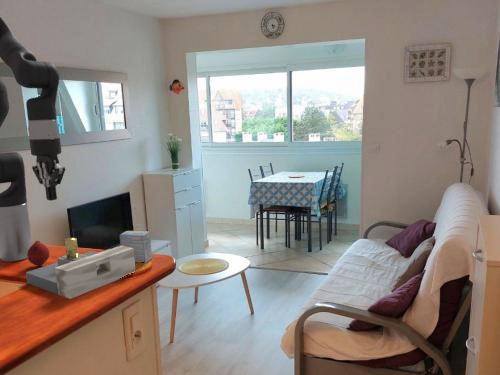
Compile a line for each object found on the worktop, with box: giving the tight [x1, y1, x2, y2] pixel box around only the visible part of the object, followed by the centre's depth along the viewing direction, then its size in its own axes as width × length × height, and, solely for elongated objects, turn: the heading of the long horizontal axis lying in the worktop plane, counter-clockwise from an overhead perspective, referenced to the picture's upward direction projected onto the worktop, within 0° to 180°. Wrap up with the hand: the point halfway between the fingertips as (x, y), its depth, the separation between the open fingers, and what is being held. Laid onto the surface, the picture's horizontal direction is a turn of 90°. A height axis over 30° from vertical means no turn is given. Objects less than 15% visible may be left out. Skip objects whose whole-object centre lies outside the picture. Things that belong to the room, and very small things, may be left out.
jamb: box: [55, 245, 136, 300], centre depth 110 cm, size 5×20×7 cm, turn 145°
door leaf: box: [25, 251, 99, 295], centre depth 115 cm, size 14×20×5 cm
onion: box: [27, 239, 50, 267], centre depth 124 cm, size 6×6×8 cm
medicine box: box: [119, 230, 153, 264], centre depth 126 cm, size 8×4×9 cm, turn 78°
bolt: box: [60, 237, 86, 261], centre depth 114 cm, size 11×3×7 cm, turn 55°
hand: (51, 199), depth 117 cm, fingers closed
